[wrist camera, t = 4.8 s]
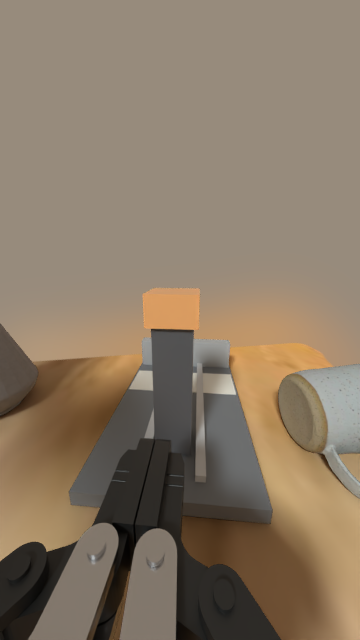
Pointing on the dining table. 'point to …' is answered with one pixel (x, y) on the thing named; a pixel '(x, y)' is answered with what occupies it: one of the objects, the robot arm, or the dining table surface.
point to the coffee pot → (14, 373)
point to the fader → (172, 361)
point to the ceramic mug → (325, 414)
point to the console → (206, 442)
